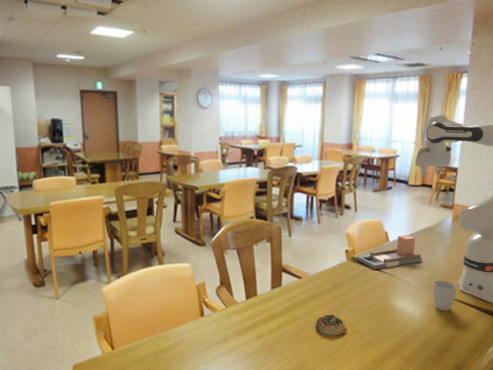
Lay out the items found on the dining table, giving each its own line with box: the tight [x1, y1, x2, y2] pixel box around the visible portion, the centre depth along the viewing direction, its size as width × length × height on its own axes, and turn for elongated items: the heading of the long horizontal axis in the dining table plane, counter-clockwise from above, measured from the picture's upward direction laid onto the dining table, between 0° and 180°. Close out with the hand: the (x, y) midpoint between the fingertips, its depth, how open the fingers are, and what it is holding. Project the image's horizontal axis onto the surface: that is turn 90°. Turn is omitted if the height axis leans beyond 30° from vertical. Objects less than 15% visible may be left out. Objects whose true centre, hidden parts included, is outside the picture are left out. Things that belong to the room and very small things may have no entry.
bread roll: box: [315, 314, 348, 337], centre depth 135 cm, size 11×11×5 cm
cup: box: [433, 280, 457, 312], centre depth 150 cm, size 8×8×10 cm
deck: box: [356, 247, 423, 270], centre depth 200 cm, size 14×32×4 cm, turn 111°
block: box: [396, 234, 416, 256], centre depth 203 cm, size 6×6×10 cm
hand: (431, 174), depth 188 cm, fingers open, 8 cm apart
